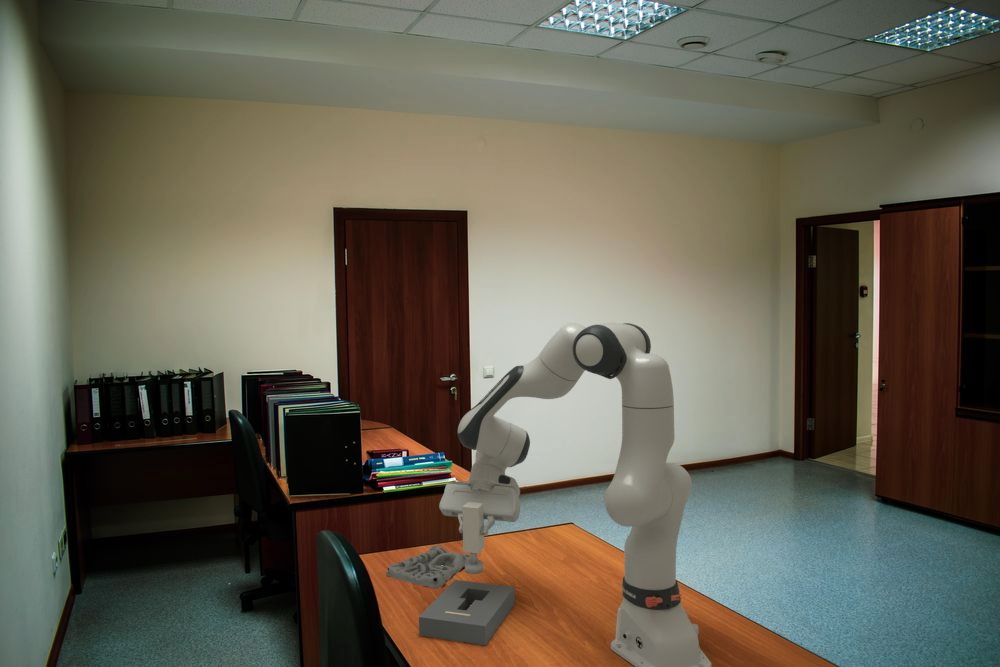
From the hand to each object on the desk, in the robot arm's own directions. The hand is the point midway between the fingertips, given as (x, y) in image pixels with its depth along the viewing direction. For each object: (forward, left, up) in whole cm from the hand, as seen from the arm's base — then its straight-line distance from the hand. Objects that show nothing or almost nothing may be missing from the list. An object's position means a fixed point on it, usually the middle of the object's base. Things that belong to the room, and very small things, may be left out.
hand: (472, 533), depth 172 cm
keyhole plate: (-3, +2, -20) cm, 20 cm away
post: (+1, 0, -9) cm, 9 cm away
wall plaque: (+31, +3, -20) cm, 37 cm away
